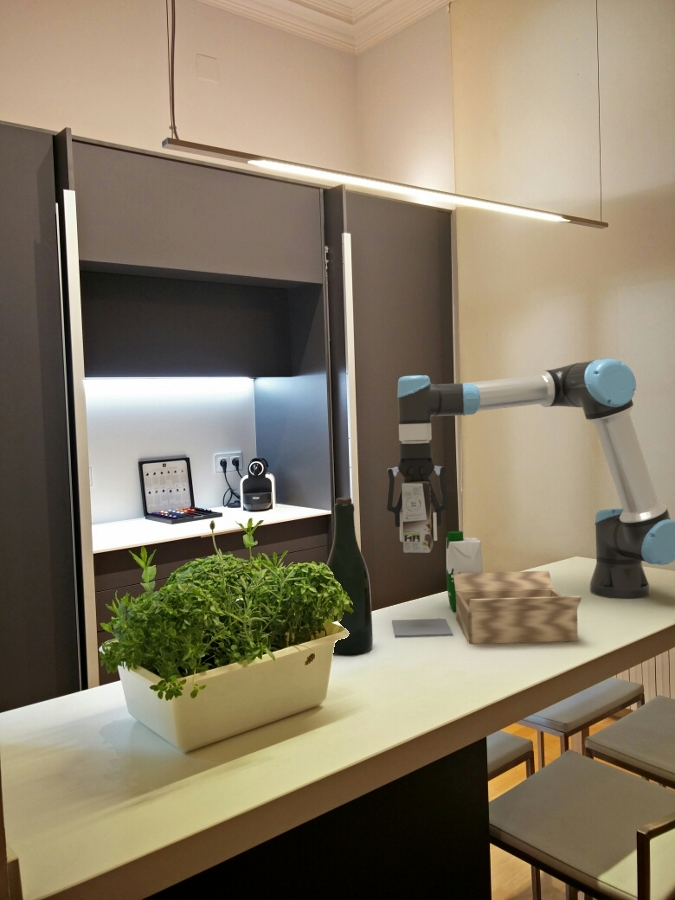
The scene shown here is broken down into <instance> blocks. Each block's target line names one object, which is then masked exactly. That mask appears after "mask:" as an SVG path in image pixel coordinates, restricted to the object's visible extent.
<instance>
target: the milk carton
mask: <svg viewBox="0 0 675 900" xmlns="http://www.w3.org/2000/svg"><path fill="white" fill-rule="evenodd" d="M446 534H447V536H446V538H445V539H446V543H445V544H446V546H445V547H446V548H445V550H446V553H445V554H446V555H445V557H446V560H445V561H446V563H445V564H446V565H445V567H446V588H447V589H446V590H447V596H448V603H449V607H450V608H451V611H452V613H453V612H456V591H455V584H454V577H453V574H461V573H484V568H483V564H484V563H483V550H482V541H480V539H478V538H477V537H466V536H464V531H462V530H451V531H447V532H446Z"/></svg>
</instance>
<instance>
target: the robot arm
mask: <svg viewBox="0 0 675 900" xmlns="http://www.w3.org/2000/svg"><path fill="white" fill-rule="evenodd" d="M635 390H637V381H636V376H635V375H634V372H633V370H632V369H631V368H630V366H628V365H627V364H626V363H625V362H624V361H621V360H619V359H615V358H614V359H613V358H599V359H594V360H588V361H583V362H575V363H572V364H568V365H564V366H562V367H557V368H553V369H547V370H541V371H539V372H538V374H536V375H535V374H534V375H527V376H525V375H524V376H518V377H508V378H500V379H499V378H498V379H490V380H489V379H488V380H481V381H472V382H460V383H459V382H458V383H457V382H456V383H438V384H436V383H431V379H430V377H429V376H428V375H419V374H418V375H404V376H401V377H399V379H398V381H397V396H396V397H397V410H398V411H397V413H398V441H400V442H401V443H400V444H399V447H398V449H399V463H398V465H397V466H395V467H392V468H390V467H388V468H387V470H386V472H387V475H388V483H387V484H388V486H387V496H386V497H387V499H386V509H387V511H388V512H392V513H393V515H394V525H395V527H396V528H399V540H400V542H401V543H403V514H402V511H401V509H402V487H401V489H400V491H399V494H398V497H397V500H396V503H395V506H393V503H394V491H395V481H396V480H395V477H397V476H398V473H399V472H400V474H401V475H402V476H403V477H404V479H403V481H402V483H403V482H404V483H410V482H416V481H426V482H430V480H431V479H430V478H429V477H430V476H431V474H432V473H433V471H435V474H436V475H437V478H438V479H437V480H438V485H439V493H440V500H441V504H440V502H439V500H438V498H437V495H436V493H435V490H434V488H433V486H432V482H431V483H430V492H431V501H432V507H433V509H434V510H432V535H433V542H434V541H438V528H437V527H441V525H442V512H443V511H445V510H449V507H450V505H449V498H448V493H447V486H446V479H445V476H446V472H447V469H446V467H444V466H442V465H441V466H439V465H435V464H434V463H435V462H434V461H433V446H432V443H431V442H430V441H431V440H432V439H433V438H432V437H433V436H432V417H442V416H443V417H445V416H446V417H447V416H450V417H452V416H464V417H465V416H470V415H474V414H476V413H477V412H481V411H490V410H498V409H507V408H508V409H509V408H515V407H516V408H517V407H526V406H534V405H540V406H542V407H543V408H549V407H568V408H569V407H570V408H582V410H583V413H584V416H585V420H587V421H588V422H591V423H593V424H594V427H595V429H596V432H597V435H598V438H599V442H600V445H601V447H602V451H603V453H604V456H605V460H606V462H607V465H608V468H609V472H610V474H611V477H612V481H613V483H614V486H615V489H616V492H617V496H618V498H619V502H620V505H621V508H620V507H619V508H608V509H600V510H599V509H598V510H597V512H596V513H595V521H594V526H595V548H596V549H595V550H596V551H595V553H596V554H595V556H596V557H595V558H596V565H595V567H594V570H593V572H592V576H591V580H590V583H589V586H590V587H589V589H590V590H589V591H590V592H591V593H593V594H594V595H598V596H602V597H606V598H616V599H635V598H643V597H646V596H648V595H649V594H650V583H649V580H648V578H647V575H646V573H645V570H644V567H643V563H642V562H645V563H648V564H649V565H659V566H665V565H669V564H671V563H673V562H675V519H671V517H670V513H669V511H668V510H669V509H668V507H667V505H666V504H664V503H663V502H660V501H659V500H658V497H657V494H656V491H655V488H654V486H653V481H652V478H651V476H650V473H649V470H648V467H647V464H646V460H645V457H644V454H643V451H642V448H641V445H640V442H639V439H638V436H637V433H636V430H635V426H634V423H633V420H632V418H631V411H632V409H633V407H634V402H633V398H634V396H635Z"/></svg>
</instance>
